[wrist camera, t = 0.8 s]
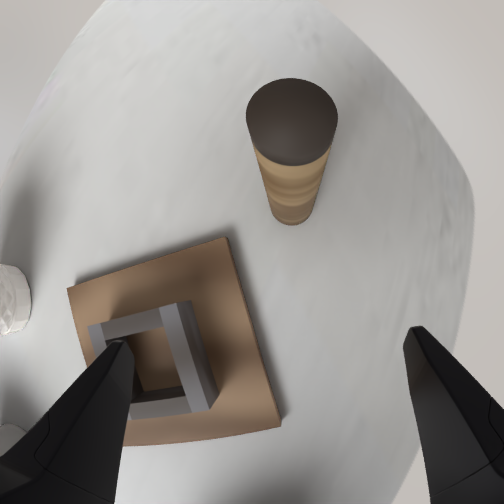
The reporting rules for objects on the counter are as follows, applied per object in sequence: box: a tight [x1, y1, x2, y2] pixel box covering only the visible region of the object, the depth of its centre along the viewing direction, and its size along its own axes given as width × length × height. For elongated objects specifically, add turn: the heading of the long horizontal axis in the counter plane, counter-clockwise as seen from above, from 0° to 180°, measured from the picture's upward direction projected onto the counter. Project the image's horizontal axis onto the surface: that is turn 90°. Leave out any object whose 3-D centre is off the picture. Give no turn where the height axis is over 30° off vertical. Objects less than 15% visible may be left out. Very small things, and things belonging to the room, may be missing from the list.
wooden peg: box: [246, 78, 338, 225], centre depth 16 cm, size 3×3×13 cm
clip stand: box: [67, 237, 281, 446], centre depth 21 cm, size 14×14×4 cm
